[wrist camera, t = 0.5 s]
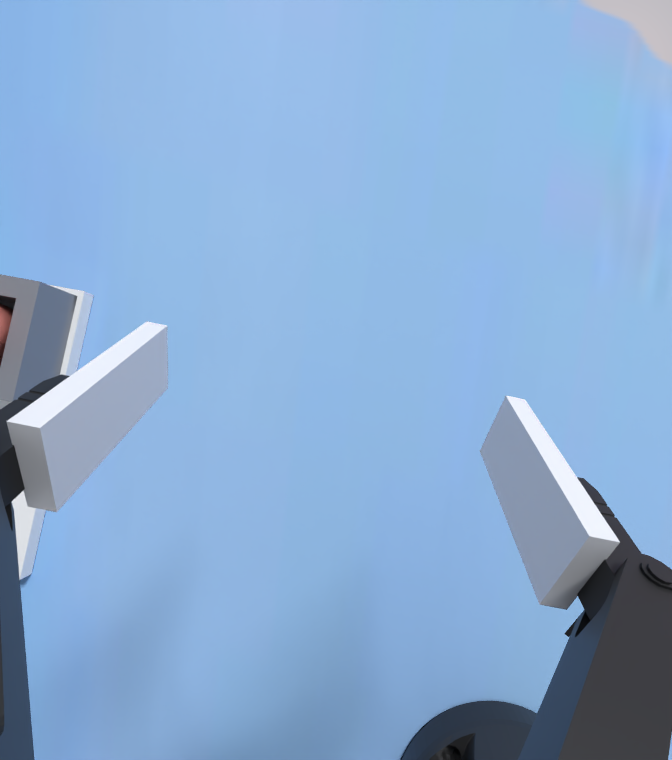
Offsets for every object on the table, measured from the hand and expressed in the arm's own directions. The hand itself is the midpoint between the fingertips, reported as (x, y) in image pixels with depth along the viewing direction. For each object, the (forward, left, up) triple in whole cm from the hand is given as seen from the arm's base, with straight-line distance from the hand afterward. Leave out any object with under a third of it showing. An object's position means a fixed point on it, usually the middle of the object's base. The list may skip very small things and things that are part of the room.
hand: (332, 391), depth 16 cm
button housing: (0, +28, -16) cm, 32 cm away
